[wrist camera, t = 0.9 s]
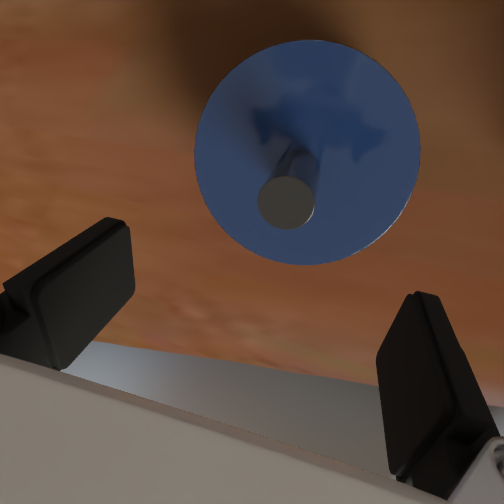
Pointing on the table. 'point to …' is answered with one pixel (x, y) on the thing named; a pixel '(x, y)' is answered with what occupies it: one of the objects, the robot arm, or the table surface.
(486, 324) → the table surface
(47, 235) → the table surface
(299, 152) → the lid
